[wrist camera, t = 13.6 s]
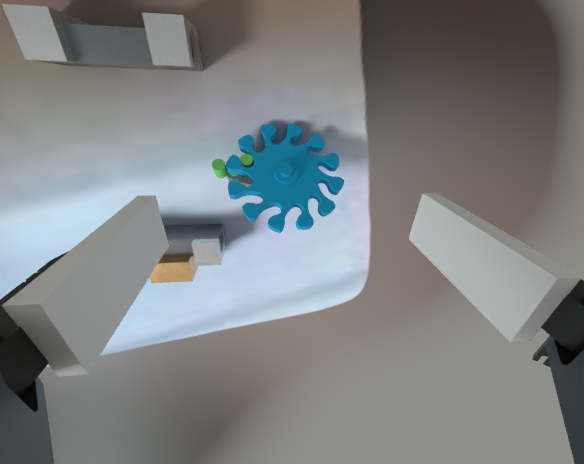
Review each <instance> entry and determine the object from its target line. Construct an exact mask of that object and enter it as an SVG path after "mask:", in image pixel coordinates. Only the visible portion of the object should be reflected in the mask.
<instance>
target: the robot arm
mask: <svg viewBox="0 0 584 464" xmlns="http://www.w3.org/2000/svg"><path fill="white" fill-rule="evenodd" d="M409 240H410V241H411V242H412V243H413V244H415V246H416V247H417V248H418V249H419V250H420V251H421V252H422V253H423V254H424V255H425V256H426V257H427V258H428V259H429V260H430V261H431V262H432V263H433V264H434V265H435V266H436V267H437V268H438V269H439V270H440V271H441V272H442V273H443V274H444V275H445V276H446V277H447V278H448V279H449V280H450V281H451V282H452V283H453V284H454V285H455V287H457V289H459V291H460V292H462V294H463V295H464V296H465V297H466V298H467V299H468V300H469V301H470V302H471V303H472V304H473V305H474V306H475V307H476V308H477V309H478V310H479V311H480V312H481V313H482V314H483V315H484V316H485V317H486V318H487V319H488V320H489V321H490V322H491V323H492V324H493V325H494V326H495V327H496V328H497V329H498V330H499V331H500V332H501V333H502V334H503V335H504V336H505V337H506V338H507V339H508V340H509V341H510V342H520V341H531V340H532V339H533V338H534V336H535V335H536V334H537V333H538V331H539V330H540V329H541V328H542V329H544V330H545V331H546V332H547V333H548V334H550V336H549V337H548V339H547V340H546V341H545V342H544V343H543V344H542V346H541V347H540V348H539V349H538V350H537V352H536V353H535V354H534V355H533V360H535V361H538V360H539V359H540V357H541V356H547V357H548V359H547V360H546V361H545V362H544V363H543V364H544V365H546V366H549V367H551V371H552V375H553V379H554V383H555V387H556V391H557V395H558V398H559V403H560V407H561V411H562V415H563V419H564V423H565V427H566V431H567V434H568V439H569V442H570V446H571V450H572V454H573V458H574V462H575V464H584V281H583V280H581V278H582V277H580V276H579V275H577V274H575V273H573V272H572V271H570V270H568V269H567V268H565V267H563V266H561V265H560V264H558V263H556V262H555V261H553V260H551V259H549V258H548V257H546V256H544V255H542V254H541V253H539V252H537V251H536V250H534V249H532V248H530V247H529V246H527V245H525V244H524V243H522V242H520V241H518V240H517V239H515V238H513V237H512V236H510V235H508V234H506V233H505V232H503V231H501V230H499V229H498V228H496V227H494V226H493V225H491V224H489V223H487V222H486V221H484V220H482V219H481V218H479V217H477V216H475V215H473V214H472V213H470V212H469V211H467V210H465V209H463V208H462V207H460V206H458V205H456V204H455V203H453V202H451V201H450V200H448V199H446V198H445V197H443V196H441V195H439V194H438V193H423V194H422V197H421V201H420V204H419V207H418V210H417V213H416V217H415V220H414V223H413V226H412V229H411V233H410V236H409ZM168 247H169V244H168V240H167V236H166V233H165V229H164V225H163V222H162V218H161V214H160V211H159V207H158V203H157V200H156V196H137V197H136V198H135V199H134V200H132V201H131V202H130V203H129V204H127V205H126V206H125V207H124V208H122V209H121V210H120V211H119V212H117V213H116V214H115V215H114V216H112V217H111V218H110V219H109V220H108V221H106V222H105V223H104V224H103V225H101V226H100V227H99V228H98V229H96V230H95V231H94V232H93V233H91V234H90V235H89V236H88V237H86V238H85V239H84V240H83V241H81V242H80V243H79V244H78V245H76V246H75V247H74V248H73V249H72V250H70V251H68V252H66V253H64V254H62V255H60V256H59V257H57V258H55V259H53V260H51V261H49V262H48V263H47V264H46V265H44V266H43V267H42V268H40V269H39V270H38V272H37V273H34V274H33V275H31V276H30V277H29V278H28V279H26V282H23V283H21V284H20V285H19V286H17V287H16V288H15V289H14V290H12V291H11V292H10V293H8V294H7V295H6V296H5V297H3V298H2V299H1V300H0V464H54V460H53V453H52V445H51V437H50V430H49V422H48V415H47V408H46V400H45V393H44V385H43V383H42V382H41V380H40V379H39V378H38V376H39V374H40V373H41V372H42V371H43V369H44V368H45V367H46V366H47V364H49V365H50V367H51V368H52V369H53V370H54V372H55V373H56V374H57V375H58V376H70V375H82V374H88V373H89V371H90V370H91V368H92V367H93V365H94V363H95V362H96V360H97V359H98V357H99V356H100V354H101V353H102V351H103V349H104V348H105V346H106V345H107V343H108V341H109V340H110V338H111V337H112V335H113V334H114V332H115V330H116V329H117V327H118V326H119V324H120V322H121V321H122V319H123V318H124V316H125V315H126V313H127V311H128V310H129V308H130V307H131V305H132V303H133V302H134V300H135V299H136V297H137V296H138V294H139V292H140V291H141V289H142V288H143V286H144V285H145V283H146V281H147V280H148V278H149V277H150V275H151V273H152V272H153V270H154V269H155V267H156V266H157V264H158V262H159V261H160V259H161V258H162V256H163V254H164V253H165V251H166V250H167V248H168Z"/></svg>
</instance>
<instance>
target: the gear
mask: <svg viewBox="0 0 584 464" xmlns="http://www.w3.org/2000/svg"><path fill="white" fill-rule="evenodd" d="M301 132H302V129H301V128H300V127H299V126H297V125H294V124H292V123H291V124H289V125H288V128H287V136H286V138H285V139H284V140H283V141H282V142H281V143H280V144H278V145H274V144H272V143H271V142H272V141H273V140H274V139H275V136H276V127H275V126H273V125H262V127H261V136H262V138H263V140H264V142H265V149H264V151H262V152H260V153H258V152H255V151H254V139H253V137H252V136H250V135H247V136H244V137H242V138H241V139H239V140H238V143H239V148H240V150H241V151H242V152H244V153H246V154H244V155H242V156H241V160H240V158H239V157H238V156H236V155H232V156H231V157H230V158H229V159H228V161H227V163H226V165H225V162H224V161H223V160H221V159H216V160H214V161H213V163H212V167H213V169H214V172H215V175H216V176H217V177H219V178H224V177H225V176H227V179H228V180H229V184H228V190H229V195H230V198H231V199H238V198H240V197H243V196H246V195H254V196H259V197H261V198H262V199H263V202H262V203H260V204H254V203H246V204H245V205H243V207H242V208H243V212H244V215H245V216H246V218H247V219H248V220H249V221H250V222H251V221H254V220H256V219H257V217H258V216H259V214H260V213H261V212H262V211H264V210H265V209H268V208H270V207H274V206H277V207H279V208H280V209H281V213H280V214H277V215H274V216H272V217H271V218H270V219H269V221H268V227H269V228H270V229H271V230H273V231H275V232H278V233H280V232H282V231H283V229H284V225H285V216H286V214H287V213H288V212H289V211H290V209H291V208H293V207H298V208H300V209H301V211H302V214H301V215H300V216H299V217H298V219H297V222H296V227H297V229H302V230H304V229H311V227H312V226H313V218H312V217H311V215H310V213H309V210H308V200H309V199H310V198H315V199H316V200H317V201H318V203H319V205H318V212H319V214H320V215H321V216H322V217H323V216H326V215H328V214H329V213H331V212H332V211H333V210H334V209H335V204H334V202H333V201H331V200H329V199H328V198H326V197H325V196H324V195H323V193H322V192H321V190H320V188H319V186H318V183H324V184H325V185H326V186H327V188H328V190H329V192H330V193H331V194H333V195H337V194H338V192H339V191H340V190H341V188H342V186H343V183H344V180H343V179H342V178H340V177H331V176H328V175H326V174H324V173H323V172H322V171H320V170H319V169H318V167H317V166H323V167H325V168H326V169H327V170H329V171H335V170H336V169H337V167H338V166H339V158H338V155H337V154H335V153H332V154H329V155H327V156H323V157H318V156H312V155H310V154H308V152H307V151H315V152H319V151H321V150H322V149H323V147H324V144H325V142H324V140H323V138H322V137H321V136H320V135H319V134H314V135H313V136H312V137H311V139H310V140H309V141H308V142H307V143H305V144H302V145H299V146H294V145H292V144H291V142H294V141H297V140H299V139H300V136H301ZM253 164H254V165H253ZM244 185H246V186H248V187H246V186H244Z"/></svg>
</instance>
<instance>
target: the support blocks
mask: <svg viewBox="0 0 584 464" xmlns="http://www.w3.org/2000/svg"><path fill="white" fill-rule="evenodd" d="M2 6H3V9H4V11H5V13H6V16H7V18H8V20H9V23H10V25H11V27H12V30H13V32H14V34H15V37H16V39H17V41H18V44H19V46H20V48H21V51H22V53H23V55H24V58H25V59H26V60H33V61H40V62H47V63H54V64H61V65H69V66H95V67H121V68H147V69H173V70H199V71H203V67H202V59H201V52H200V44H199V37H198V29H197V28H196V27H195V26H194V25H193V24H192V23H191V22H190V21H189V20H188V19H187V18H186V17H185V16H184V15H176V14H159V13H143V12H142V16H143V20H144V25H145V28H136V27H118V26H100V25H89V24H88V23H87V22H84V21H82V20H79V19H77V18H74V17H72V16H69V15H67V14H64V13H62V12H60V11H57V10H55V9H52V8H50V7H45V6H29V5H12V4H2ZM164 229H165V233H166V236H167V240H168V244H169V247H168V248H167V250H166V251H165V253H164V254H163V256H162V258H161V259H160V261H159V262H158V264H157V266H156V267H155V269H154V270H153V272H152V273H151V275H150V280H151V283H163V282H184V281H193V279H194V276H195V273H196V271H197V268H198V266H199V265H221V261H222V257H223V253H224V249H225V245H226V242H225V235H224V227H223V224H215V225H175V226H164Z"/></svg>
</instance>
